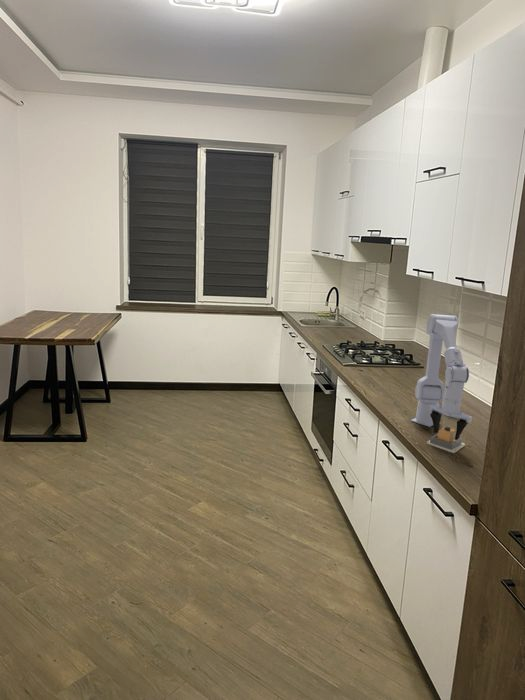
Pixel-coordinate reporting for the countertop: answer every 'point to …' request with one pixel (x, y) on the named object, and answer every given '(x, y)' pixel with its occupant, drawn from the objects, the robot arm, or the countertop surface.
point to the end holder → (446, 444)
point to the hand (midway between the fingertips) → (446, 435)
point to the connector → (446, 434)
